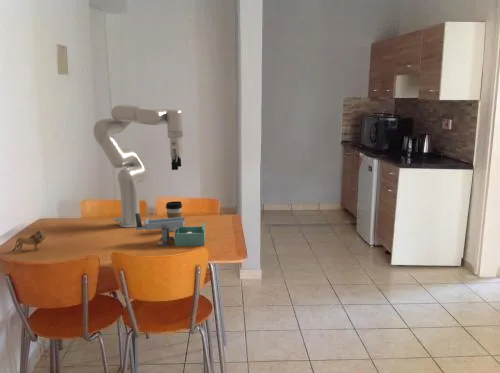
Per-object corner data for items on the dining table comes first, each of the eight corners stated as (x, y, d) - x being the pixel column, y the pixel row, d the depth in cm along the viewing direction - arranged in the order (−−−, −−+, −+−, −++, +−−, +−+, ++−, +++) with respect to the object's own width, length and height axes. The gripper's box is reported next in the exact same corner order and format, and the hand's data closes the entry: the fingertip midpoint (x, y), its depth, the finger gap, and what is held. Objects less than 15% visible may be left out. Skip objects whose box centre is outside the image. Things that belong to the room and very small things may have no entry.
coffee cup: (179, 232, 247) (178, 204, 244) (164, 231, 249) (163, 203, 245) (185, 228, 255) (184, 200, 252) (170, 227, 257) (169, 200, 253)
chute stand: (158, 246, 226) (157, 226, 224) (161, 238, 238) (160, 219, 236) (170, 246, 226) (169, 226, 224) (173, 238, 238) (172, 219, 236)
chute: (135, 231, 227) (133, 216, 225) (138, 226, 234) (136, 212, 232) (183, 226, 227) (181, 211, 225) (184, 222, 234) (183, 207, 233)
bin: (174, 246, 226) (174, 229, 225) (177, 238, 238) (177, 222, 236) (204, 245, 227) (204, 229, 225) (205, 237, 239) (205, 222, 237)
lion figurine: (46, 246, 227) (45, 228, 225) (46, 250, 222) (44, 231, 220) (12, 250, 222) (10, 231, 220) (11, 254, 217) (9, 235, 215)
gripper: (180, 136, 231) (181, 171, 234) (185, 132, 248) (186, 165, 251) (164, 136, 231) (166, 171, 234) (170, 132, 248) (172, 165, 251)
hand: (176, 168), depth 243 cm, fingers open, 9 cm apart
